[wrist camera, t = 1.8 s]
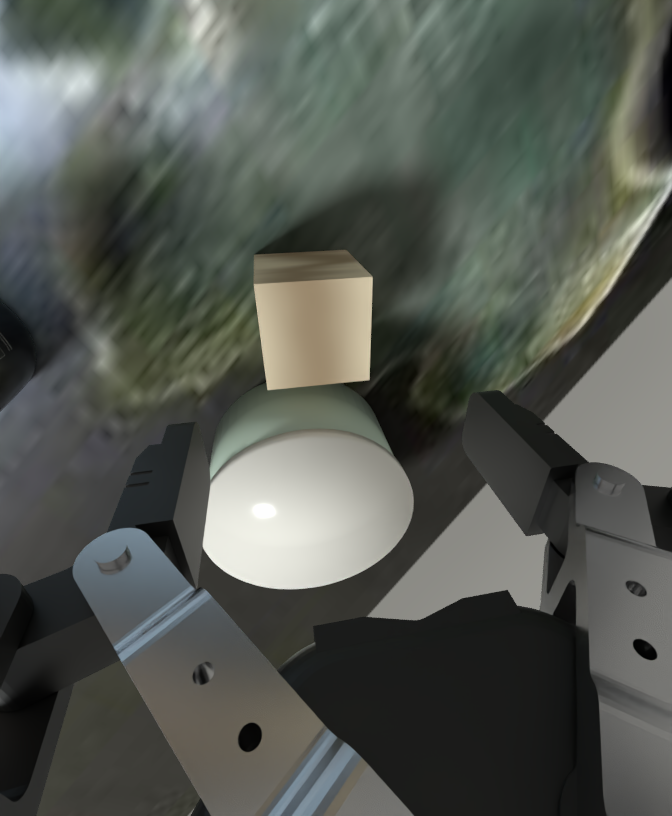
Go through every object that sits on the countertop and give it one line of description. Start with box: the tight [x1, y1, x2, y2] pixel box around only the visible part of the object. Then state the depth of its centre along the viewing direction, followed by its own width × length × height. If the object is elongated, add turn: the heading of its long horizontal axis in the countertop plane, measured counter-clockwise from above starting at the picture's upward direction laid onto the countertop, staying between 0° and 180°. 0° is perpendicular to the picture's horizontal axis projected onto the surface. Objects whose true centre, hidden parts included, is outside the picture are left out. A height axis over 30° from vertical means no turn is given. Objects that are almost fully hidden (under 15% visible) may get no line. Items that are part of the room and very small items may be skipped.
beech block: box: [254, 250, 373, 390], centre depth 20 cm, size 5×5×6 cm
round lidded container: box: [203, 383, 414, 589], centre depth 26 cm, size 12×12×7 cm
